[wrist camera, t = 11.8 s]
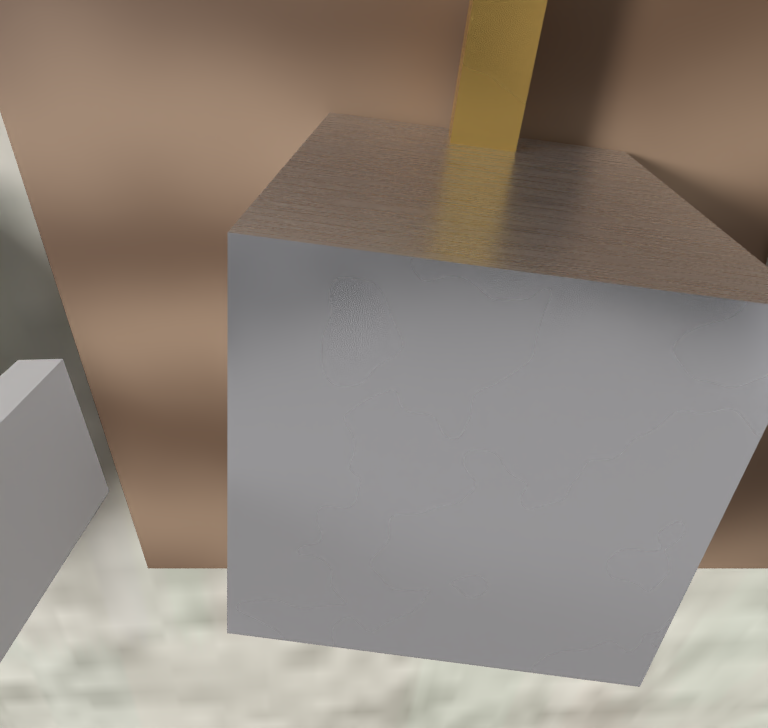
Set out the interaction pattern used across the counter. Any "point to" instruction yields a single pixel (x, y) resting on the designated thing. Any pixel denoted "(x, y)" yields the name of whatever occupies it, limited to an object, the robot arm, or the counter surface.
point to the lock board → (275, 148)
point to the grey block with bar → (482, 387)
